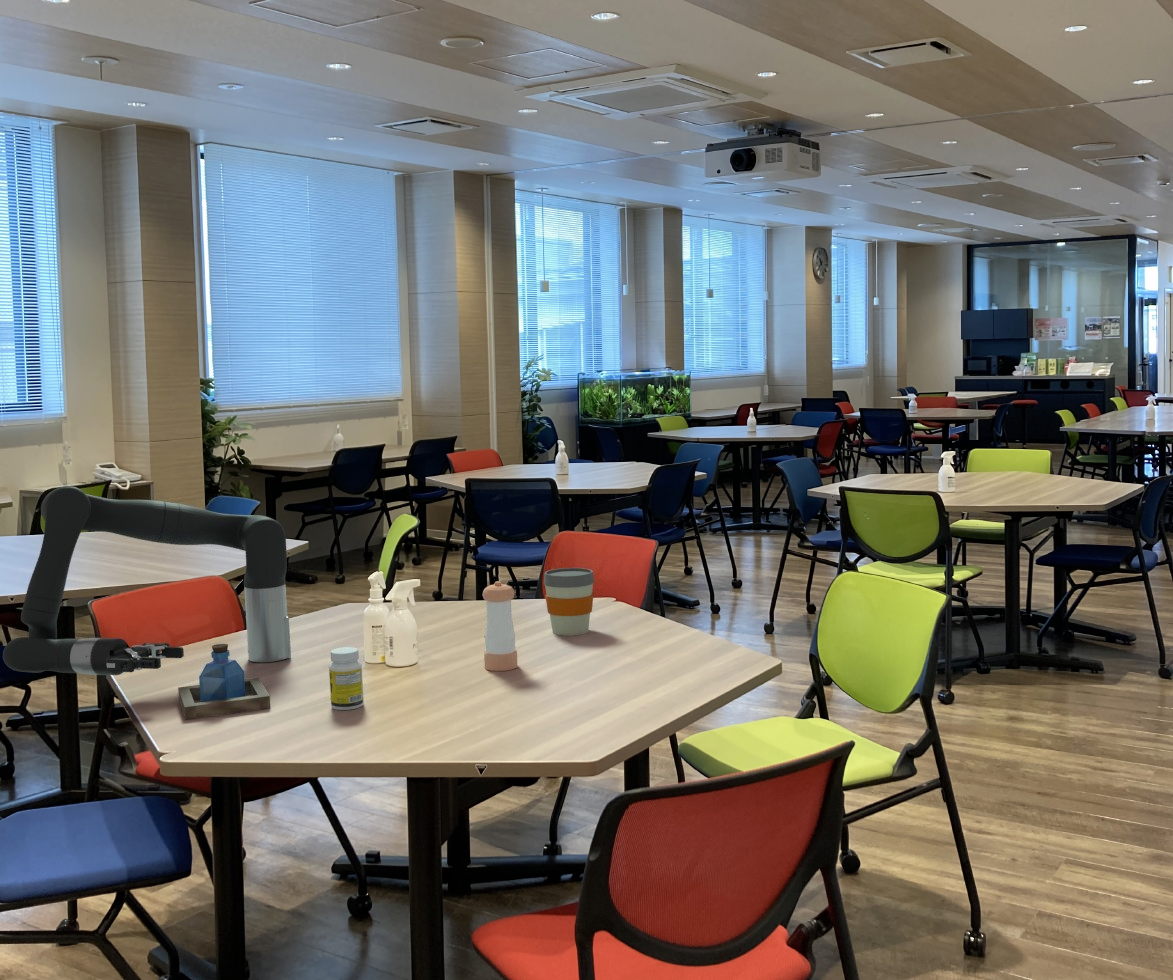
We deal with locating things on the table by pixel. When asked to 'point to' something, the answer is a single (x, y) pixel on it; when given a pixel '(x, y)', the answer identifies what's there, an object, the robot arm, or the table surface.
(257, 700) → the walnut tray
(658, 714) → the table surface
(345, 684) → the supplement bottle
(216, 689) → the perfume bottle
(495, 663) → the pepper shaker
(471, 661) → the table surface
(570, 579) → the reusable coffee cup
